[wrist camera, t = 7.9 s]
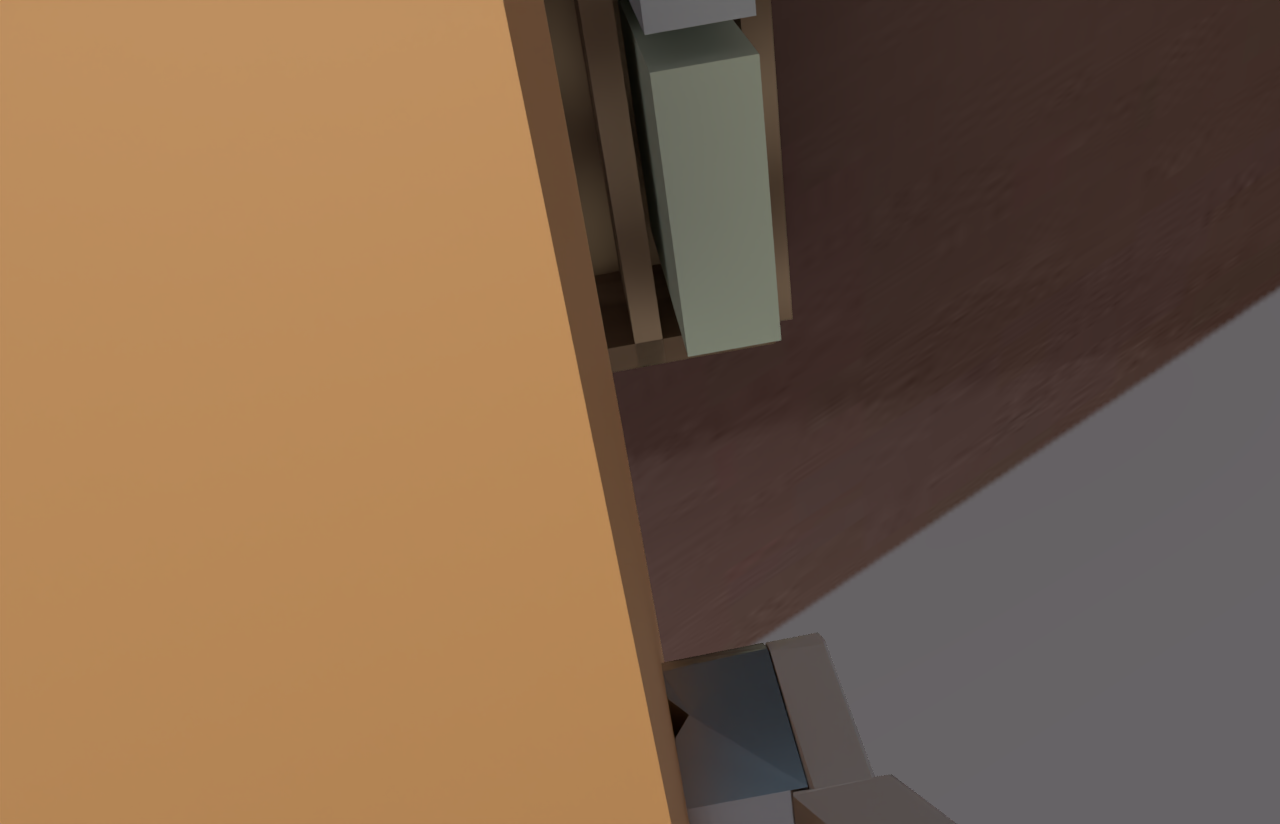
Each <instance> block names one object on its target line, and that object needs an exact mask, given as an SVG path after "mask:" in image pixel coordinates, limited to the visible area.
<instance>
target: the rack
mask: <svg viewBox="0 0 1280 824" xmlns="http://www.w3.org/2000/svg"><path fill="white" fill-rule="evenodd" d="M755 4H756V16H751V17H745V18H739V19H734V20H733V21H734V22H735V23H736V24H737V26H738V27H739V28H740V30H741V31H742V32H743V33H744V35H745V36H746V37H747V39H748V40H749V41H750V42H751V44H752V45H753V46H754V48H755V49H756V50H757V51H758V53H759V57H760V70H761V83H762V96H763V109H764V122H765V135H766V148H767V161H768V174H769V187H770V201H771V214H772V227H773V240H774V253H775V266H776V279H777V292H778V305H779V318H780V321H784V320H790V319H793V317H792V303H791V288H790V273H789V259H788V244H787V230H786V215H785V200H784V186H783V171H782V157H781V142H780V127H779V113H778V98H777V84H776V69H775V54H774V40H773V25H772V11H771V0H755ZM544 5H545V11H546V16H547V22H548V27H549V33H550V38H551V43H552V49H553V54H554V60H555V65H556V71H557V76H558V81H559V87H560V92H561V98H562V103H563V109H564V114H565V120H566V125H567V130H568V136H569V141H570V147H571V152H572V158H573V163H574V168H575V174H576V179H577V185H578V190H579V196H580V201H581V207H582V212H583V217H584V223H585V228H586V234H587V239H588V245H589V250H590V255H591V261H592V266H593V272H594V277H595V283H596V288H597V294H598V299H599V304H600V310H601V315H602V321H603V326H604V332H605V337H606V342H607V348H608V353H609V359H610V364H611V370H612V372H617V371H623V370H628V369H634V368H640V367H645V366H651V365H656V364H662V363H668V362H673V361H679V360H684V359H690V358H696V357H701V356H707V355H712V354H718V353H724V352H729V351H735V350H740V349H746V348H752V347H757V346H763V345H768V344H774V343H775V341H774V342H769V343H763V344H757V345H752V346H746V347H741V348H735V349H729V350H724V351H718V352H713V353H707V354H701V355H696V356H690V357H688V355H687V351H686V348H685V345H684V341H683V338H682V334H681V331H680V327H679V324H678V321H677V317H676V314H675V310H674V307H673V304H672V300H671V297H670V293H669V290H668V286H667V283H666V280H665V276H664V273H663V269H662V266H661V263H660V259H659V256H658V252H657V249H656V245H655V242H654V239H653V235H652V232H651V226H650V219H649V212H648V206H647V199H646V192H645V185H644V178H643V171H642V165H641V158H640V151H639V144H638V137H637V130H636V124H635V117H634V110H633V103H632V96H631V89H630V83H629V76H628V69H627V62H626V55H625V48H624V42H623V35H622V28H621V21H620V14H619V7H618V1H617V0H544Z"/></svg>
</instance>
